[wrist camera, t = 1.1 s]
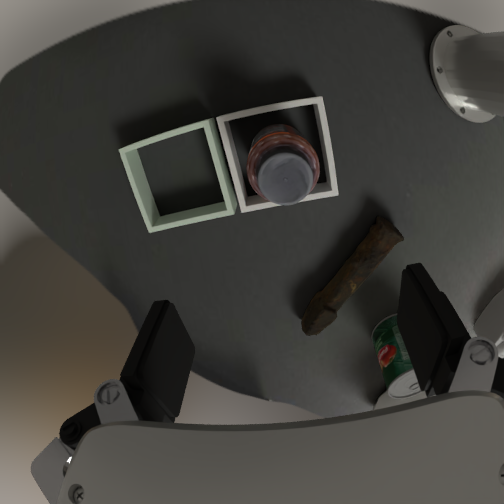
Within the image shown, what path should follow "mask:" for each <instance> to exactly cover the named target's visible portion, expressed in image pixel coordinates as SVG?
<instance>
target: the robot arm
mask: <svg viewBox="0 0 504 504" xmlns="http://www.w3.org/2000/svg"><path fill="white" fill-rule="evenodd" d="M429 63H430V69H431V74H432V78H433V81H434V84H435V86H436V88H437V91H438V93H439V94H440V96H441V98H442V99H443V101H444V102H445V103H446V105H447V106H448V107H449V108H450V109H451V110H452V111H453V112H454V113H455V114H457V115H458V116H460V117H461V118H463V119H466V120H468V121H472V122H480V123H482V122H486V121H489V120H491V119H492V118H494V117H495V116H496V115H498V116H502V117H504V32H493V33H483V34H479V33H478V32H477V31H475V30H473V29H471V28H469V27H466V26H462V25H453V26H449V27H446V28H443V29H442V30H440V31H439V32H438V33H437V34H436V36H435V37H434V39H433V41H432V44H431V48H430V62H429ZM397 326H398V329H399V331H400V334H401V336H402V339H403V342H404V344H405V347H406V349H407V352H408V355H409V358H410V360H411V363H412V366H413V369H414V372H415V375H416V377H417V380H418V383H419V386H420V389H421V391H422V392H423V391H425V393H426V396H427V398H424V399H420V400H416V401H412V402H408V403H404V404H400V405H396V406H391V407H386V408H382V409H377V410H372V411H367V412H362V413H357V414H351V415H345V416H338V417H332V418H324V419H317V420H309V421H299V422H287V423H273V424H250V425H204V424H182V423H174V421H175V417H178V416H179V413H180V409H181V405H182V401H183V397H184V393H185V389H186V385H187V381H188V377H189V374H190V370H191V366H192V362H193V358H194V354H195V347H194V344H193V342H192V340H191V338H190V336H189V334H188V332H187V330H186V328H185V326H184V324H183V322H182V320H181V318H180V316H179V314H178V312H177V310H176V308H175V306H174V304H173V303H170V302H169V301H168V300H161V301H155V302H154V303H153V305H152V307H151V309H150V311H149V313H148V315H147V317H146V319H145V321H144V323H143V325H142V328H141V330H140V332H139V334H138V336H137V338H136V341H135V343H134V345H133V347H132V349H131V352H130V354H129V356H128V358H127V361H126V363H125V365H124V367H123V370H122V372H121V374H120V375H121V377H120V380H116V379H110V380H107V381H105V382H103V383H102V384H100V385H99V387H98V388H97V389H96V391H95V394H94V403H93V404H91V405H90V406H88V407H87V408H85V409H83V410H82V411H80V412H78V413H77V414H75V415H74V416H72V417H70V418H69V419H67V420H66V421H65V422H64V423H63V425H62V426H61V428H60V433H59V434H60V438H59V439H58V438H57V437H56V438H55V439H54V440H53V441H52V442H51V443H50V444H49V445H48V446H47V447H46V448H45V449H44V450H43V451H42V452H41V453H40V454H39V455H38V456H37V457H36V458H35V459H34V461H33V462H32V465H31V473H32V475H33V477H34V479H35V481H36V482H37V484H38V486H39V487H40V489H41V491H42V492H43V494H44V495H45V497H46V498H47V500H48V501H49V503H50V504H504V359H503V358H500V357H498V349H497V347H496V345H495V344H494V342H492V341H491V340H490V339H488V338H486V337H481V336H479V337H474V338H471V337H470V335H469V333H468V332H467V330H466V328H465V326H464V324H463V323H462V321H461V319H460V318H459V316H458V314H457V313H456V311H455V309H454V308H453V306H452V304H451V303H450V301H449V300H448V298H447V296H446V295H445V294H444V292H442V291H441V292H440V291H439V289H438V288H437V286H436V285H435V283H434V282H433V280H432V279H431V277H430V275H429V274H428V273H427V271H426V270H425V268H424V267H423V265H422V264H421V263H416V264H410V265H407V267H406V269H404V270H403V271H402V280H401V290H400V298H399V306H398V314H397ZM434 395H436V396H434ZM431 396H432V397H431Z"/></svg>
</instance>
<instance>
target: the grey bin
mask: <svg viewBox="0 0 504 504" xmlns="http://www.w3.org/2000/svg"><path fill="white" fill-rule="evenodd" d="M310 104H313V107H314V111H315V116H316V121H317V127H318V132H319V137H320V143H321V149H322V154H323V160H324V167H325V173H326V179H327V182H325V183H319V184H316V185H315V187H314V188H313V190H312V191H311V192H310V193H309V194H308V195H307V196H306V197H305V198H304V199H302V200H301V201H299V202H302V201H307V200H313V199H319V198H325V197H331V196H337V195H338V187H337V180H336V172H335V165H334V159H333V152H332V146H331V140H330V134H329V129H328V123H327V118H326V113H325V108H324V103H323V98H322V97H311V98H304V99H298V100H292V101H286V102H280V103H275V104H270V105H265V106H260V107H255V108H251V109H246V110H242V111H237V112H233V113H229V114H225V115H221V116H219V117H216V119H217V123H218V126H219V130H220V134H221V137H222V141H223V145H224V149H225V152H226V156H227V160H228V164H229V167H230V171H231V175H232V178H233V182H234V186H235V190H236V193H237V197H238V201H239V204H240V208H241V212H242V213H243V212H248V211H253V210H259V209H264V208H269V207H274V206H280V205H279V204H275V203H273V202H270V201H268V200H266V199H264V198H262V197H261V196H260V195H254V196H249V197H248V195H247V191H246V187H245V183H244V180H243V176H242V172H241V168H240V164H239V160H238V156H237V152H236V148H235V145H234V141H233V137H232V133H231V129H230V125H229V122H228V121H229V120H233V119H237V118H241V117H246V116H250V115H255V114H260V113H265V112H269V111H275V110H280V109H285V108H291V107H297V106H303V105H310Z"/></svg>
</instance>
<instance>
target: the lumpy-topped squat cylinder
mask: <svg viewBox="0 0 504 504" xmlns="http://www.w3.org/2000/svg"><path fill="white" fill-rule="evenodd" d="M474 331H475V333H476V335H477V336H478V337H479V336H481V337H486V338H488V339H490V340H491V341H492V342H494V344H495V345H496V347H497V349H498V357H500V358H504V289H502V290H501V291H500V292H499V293H498V294H496V295H495V296H494V298H493V299H492V300H491V301H490V303H489V304H488V305H487V306H486V308H485V309H484V310H483V312H482V313H481V315H480V316H479V318H478V319H477V321H476V322H475V325H474Z"/></svg>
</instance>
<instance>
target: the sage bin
mask: <svg viewBox="0 0 504 504" xmlns="http://www.w3.org/2000/svg"><path fill="white" fill-rule="evenodd" d="M202 127H204V130H205V133H206V137H207V140H208V144H209V147H210V151H211V155H212V158H213V162H214V165H215V169H216V172H217V176H218V179H219V183H220V186H221V190H222V193H223V197H224V200H225V202H221V203H216V204H211V205H207V206H203V207H198V208H194V209H190V210H185V211H181V212H177V213H173V214H169V215H164V216H160V215H159V212H158V209H157V206H156V204H155V201H154V198H153V195H152V193H151V190H150V187H149V184H148V181H147V178H146V175H145V172H144V169H143V166H142V163H141V160H140V157H139V154H138V151H137V148H140V147H142V146H145V145H148V144H151V143H154V142H157V141H160V140H163V139H166V138H169V137H172V136H175V135H178V134H182V133H185V132H188V131H192V130H195V129H199V128H202ZM119 152H120V155H121V158H122V161H123V164H124V167H125V170H126V173H127V175H128V178H129V181H130V184H131V187H132V189H133V192H134V195H135V198H136V200H137V203H138V206H139V208H140V211H141V213H142V216H143V219H144V221H145V224H146V226H147V229H148V231H149V233H151V232H155V231H159V230H164V229H168V228H173V227H177V226H182V225H186V224H191V223H195V222H200V221H205V220H209V219H214V218H219V217H224V216H228V215H233V214H235V210H236V206H237V202H236V198H235V194H234V191H233V187H232V183H231V179H230V176H229V172H228V168H227V165H226V161H225V157H224V154H223V150H222V146H221V143H220V139H219V135H218V131H217V128H216V124H215V120H214V118H210V119H206V120H203V121H199V122H196V123H192V124H189V125H186V126H182V127H179V128H176V129H173V130H170V131H167V132H164V133H161V134H158V135H155V136H152V137H149V138H146V139H143V140H141V141H138V142H135V143H133V144H130V145H128V146H126V147H123V148H121V149H119Z"/></svg>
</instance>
